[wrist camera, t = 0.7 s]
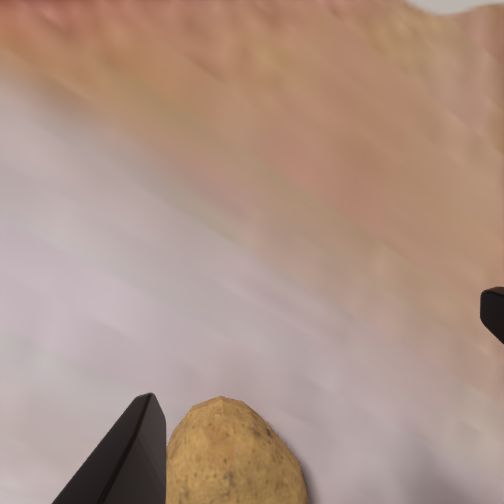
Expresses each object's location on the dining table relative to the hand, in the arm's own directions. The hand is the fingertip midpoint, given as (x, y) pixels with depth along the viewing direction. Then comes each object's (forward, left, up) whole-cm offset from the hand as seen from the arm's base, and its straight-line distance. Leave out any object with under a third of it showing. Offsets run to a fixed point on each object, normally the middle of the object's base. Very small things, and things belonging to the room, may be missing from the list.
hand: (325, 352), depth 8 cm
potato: (-14, 0, -16) cm, 21 cm away
